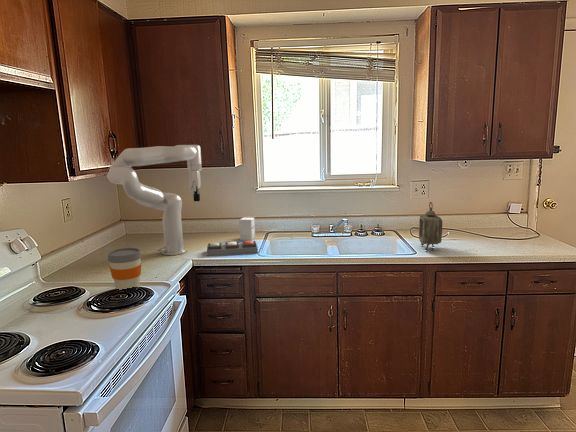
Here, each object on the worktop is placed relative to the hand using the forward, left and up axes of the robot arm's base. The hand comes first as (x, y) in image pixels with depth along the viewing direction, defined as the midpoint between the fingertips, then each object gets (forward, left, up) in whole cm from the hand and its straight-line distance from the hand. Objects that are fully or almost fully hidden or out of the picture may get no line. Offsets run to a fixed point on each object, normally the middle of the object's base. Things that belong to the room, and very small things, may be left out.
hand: (196, 200), depth 225 cm
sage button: (-3, -20, -22) cm, 30 cm away
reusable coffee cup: (-55, -37, -26) cm, 71 cm away
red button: (+12, -30, -22) cm, 39 cm away
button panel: (+5, -25, -25) cm, 36 cm away
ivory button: (+5, -25, -22) cm, 34 cm away
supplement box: (+27, -9, -26) cm, 38 cm away
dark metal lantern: (+81, -96, -25) cm, 128 cm away
